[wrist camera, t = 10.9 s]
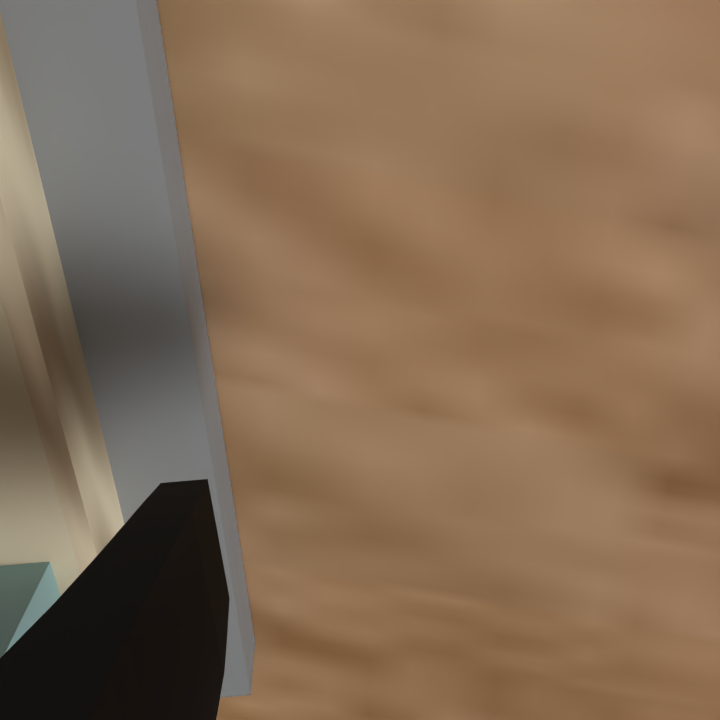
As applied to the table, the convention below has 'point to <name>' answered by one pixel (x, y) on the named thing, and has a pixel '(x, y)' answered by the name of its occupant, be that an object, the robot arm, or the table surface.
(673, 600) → the table surface
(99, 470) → the beige bar
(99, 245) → the loading dock
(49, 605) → the block
